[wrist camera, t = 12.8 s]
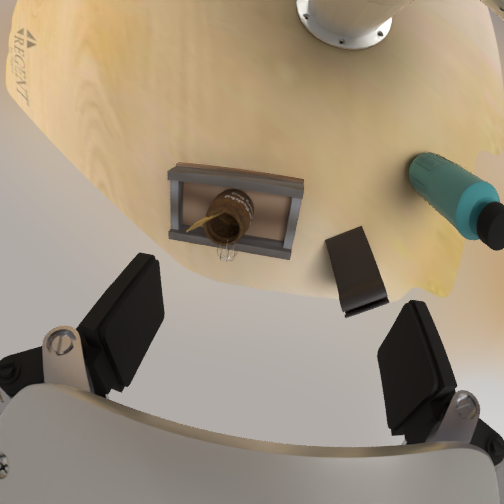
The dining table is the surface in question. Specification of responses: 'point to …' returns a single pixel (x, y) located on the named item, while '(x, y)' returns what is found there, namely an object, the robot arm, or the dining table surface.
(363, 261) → the phone stand
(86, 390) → the robot arm
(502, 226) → the beverage bottle
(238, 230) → the utensil holder
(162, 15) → the dining table surface
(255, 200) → the gray framed rectangular tray
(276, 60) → the dining table surface
